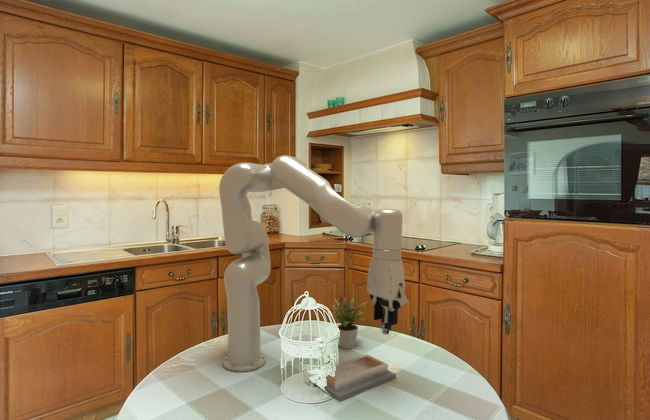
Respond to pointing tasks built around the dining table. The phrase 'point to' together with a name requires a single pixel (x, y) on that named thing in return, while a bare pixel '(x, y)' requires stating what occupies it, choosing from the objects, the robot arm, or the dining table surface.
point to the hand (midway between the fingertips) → (385, 321)
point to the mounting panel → (361, 386)
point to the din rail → (356, 372)
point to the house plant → (348, 324)
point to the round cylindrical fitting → (385, 316)
